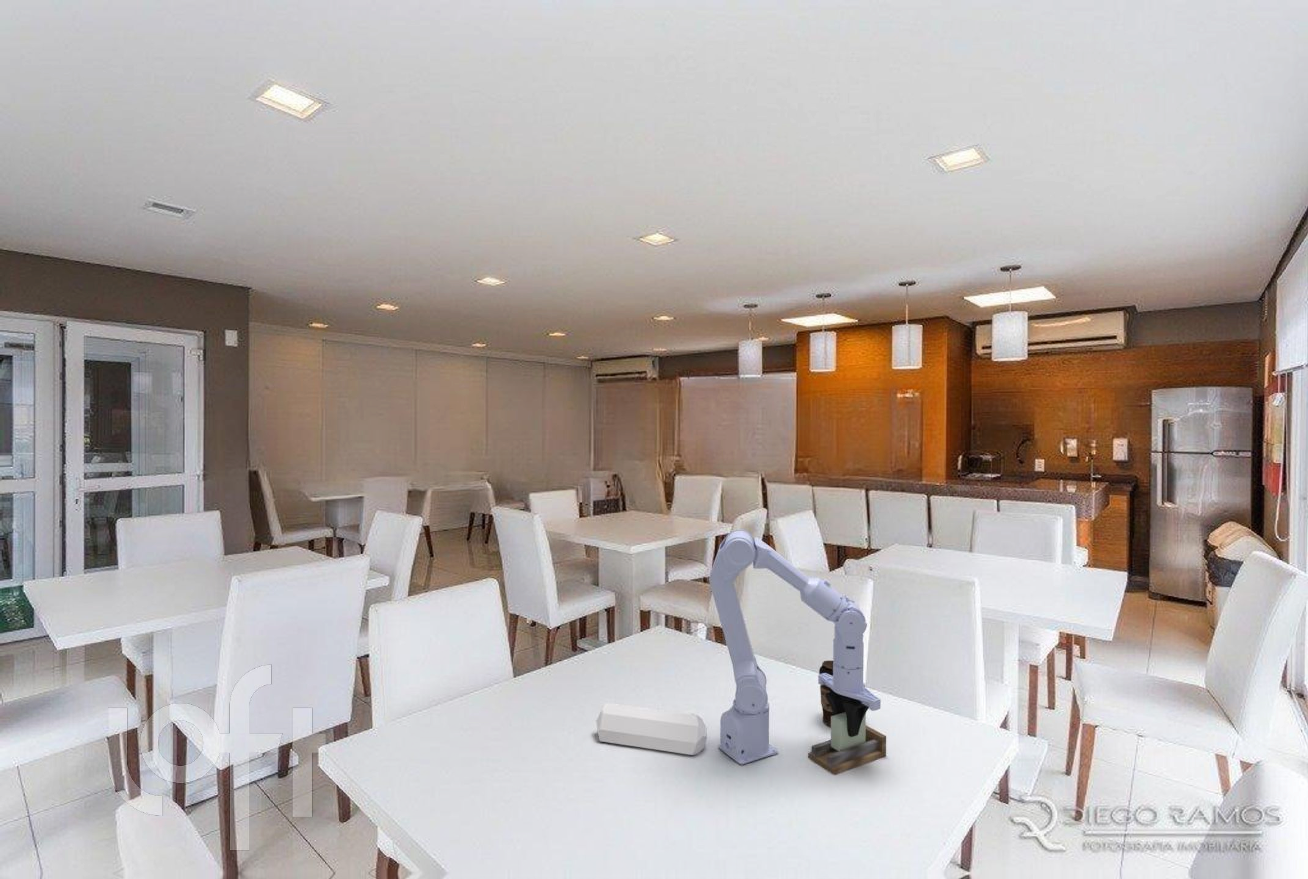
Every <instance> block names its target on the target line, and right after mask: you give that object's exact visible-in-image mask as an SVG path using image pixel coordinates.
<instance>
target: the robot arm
mask: <svg viewBox="0 0 1308 879" xmlns="http://www.w3.org/2000/svg"><path fill="white" fill-rule="evenodd" d="M751 565H752V566H753V569H756V570H757V569H761V570H762V569H767V570H769V571H770V572H772V573H774V574H775V575H777V577H779V578H780V579H782V580H784V581H785V582H786V583H787V584H789V585H790V586H792V587H793V588H794V589H796V590H797V591H799V593H800V596H799V597H800V599H801V602H803V604H805V605H806V606H808V607H809V608H811V610H813V611H814V612H816V613H817V614H818V615H819V616H820V617H822V618H824V619H825V620H826V621H828V622H832V623H833V624H834V629H833V630H834V635H833V636H834V638H833V651H832V654H833V655H832V656H833V657H832V659H833V660H832V661H833V676H832V675H829V674H827V673H823V674H819V673H818V678H817V679H818V682H817V683H818V685H826V686H828V687H830V688H831V691H830V692H828V693H826V699H827V700H828V702H829V704H830V706H831V709H832V711H833V714H834V715H837V714H841V713H844V712H846V717H847V730H848V736H850V737H853V736H856V735H858V733H859V730H860V726H861V723H862V720H863V718H864V715H865V713H866V714H867V712H868V710H870V711H872V712H874V711H878V710H880V709H881V698H879V697H878V696H876V695H875V694H874V693H872V692H871V691H870V690H868V689H867V688H866V683H865V682H864V658H865V657H864V656H865V655H864V648H865V647H864V644H865V643H864V633H866V630H867V627H868V623H867V621H866V618H865V615H864V614H863V611H862V610H861V608H860V607H859V605H858V604H856V602H855V601H854V600H852V599H851V598H850V597H849V596H847V595H842V594H841V593H839V592H838V591H837V590H836V589H835V588H833V587H832V586H831V582H830V581H829V580H828V579H826V578H824V579H821V578H820V577H817V576H816V577H808V576H807V575H806V574H805V573H804V572H802V571H801V570H800V569H798V567H796V566H795V565H793V564H792V563H791V562H789V561H788V560H787V559H786V558H785V557H784V556H783V555H781V554H780V553H778V552H777V551H776V550H775V549H774V548H773V547H771V546H770V545H768V544H767V543H766V542H764V541H763V540H761V539H760V538H758V537H756V536H755V537H753V535H752V534H751V533H750V532H749V531H747V530H745V529H742V528H741V529H740V528H739V529H734V530H731V531H730V532H729V533H727V535H726V536H725V537H724V539H723V540H722V542H721V543H720V545H719V548H718V549H717V553H716V556H715V559H714V562H713V564H712V566H711V570H710V573H709V576H708V583H709V586H710V589H711V592H712V596H713V597H712V598H713V600H714V603H715V607H716V610H717V613H718V614H717V615H718V618H719V621H720V625H721V629H722V631H723V636H724V639H725V644H726V646H727V650H728V653H729V656H730V661H731V664H732V665H731V666H732V668H733V669H732V670H733V675H734V676H733V677H734V681H735V686H736V687H735V694H734V695H735V696H734V699H733V703H732V706H731V707H730V708H729V709H728V710H726V711H723V713H721V716H720V724H719V725H720V726H719V727H720V735H719V736H720V738H719V739H720V742H719V744H718V745H717V748H719V749H720V750H721V751H722V752H723V753H725V754H726V755H728V756H729V757H730V758H731V759H733V761H736V763H738V764H739V765H745V764H749V763H752V762H755V761H757V760H760V759H763V758H767V757H770V756H773V755H776V754H778V753H779V750H778V749H777V748H776V747H775V746H772V745H771V744H770V704H769V702H768V700H769V697H768V693H767V677H766V674H765V673H764V671H763V670H762V669H761V668H760V666H759V665H758V662H757V661H758V660H757V658H756V656H755V654H754V651H753V647H752V644H751V641H750V636H749V633H748V630H747V626H746V623H745V619H744V615H743V612H742V609H741V605H740V601H739V598H738V594H737V590H736V587H735V582H736V579H737V578H738V576H739V575H740V573H742V572H743V571H744V570H746V569H747V568H749V566H751Z"/></svg>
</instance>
